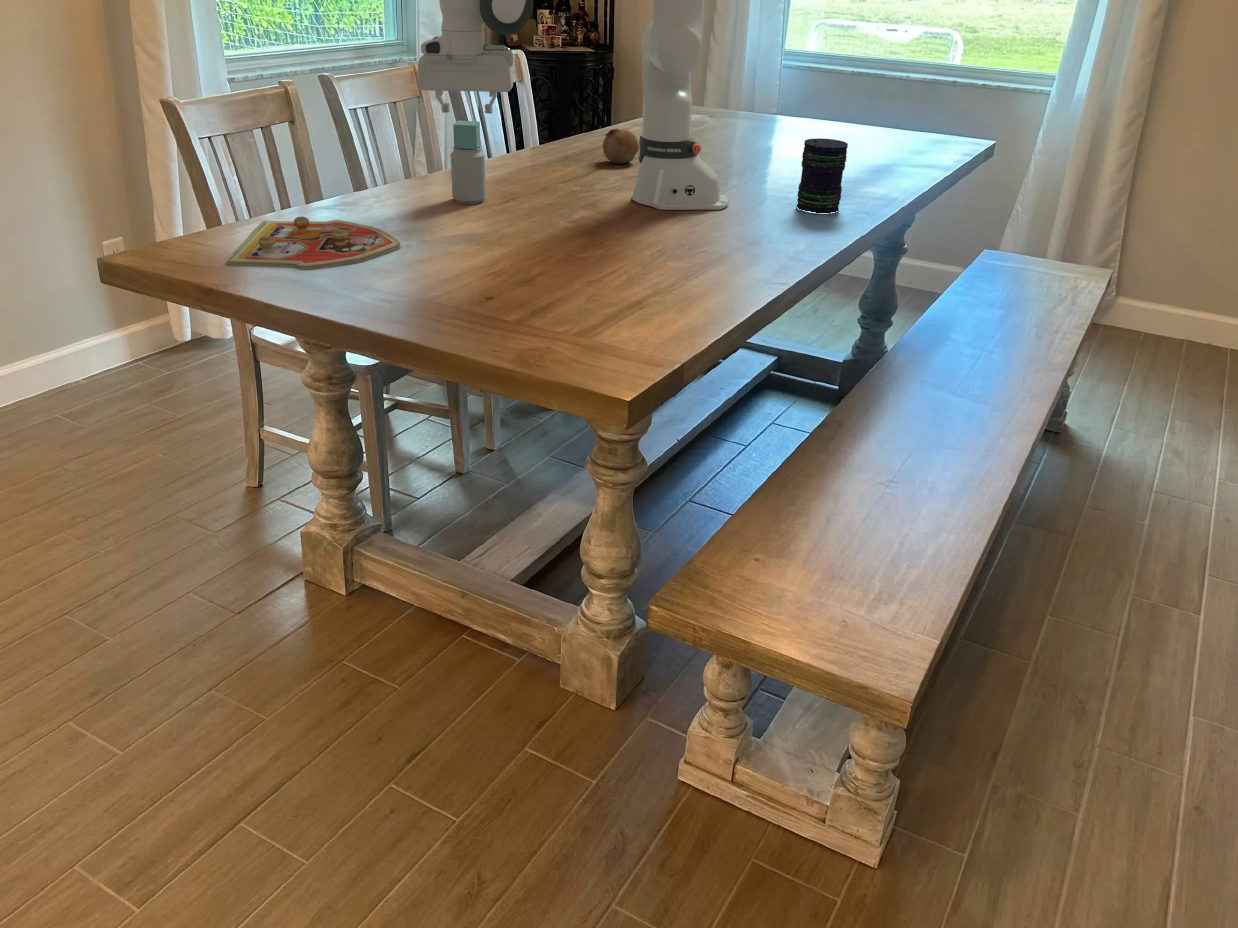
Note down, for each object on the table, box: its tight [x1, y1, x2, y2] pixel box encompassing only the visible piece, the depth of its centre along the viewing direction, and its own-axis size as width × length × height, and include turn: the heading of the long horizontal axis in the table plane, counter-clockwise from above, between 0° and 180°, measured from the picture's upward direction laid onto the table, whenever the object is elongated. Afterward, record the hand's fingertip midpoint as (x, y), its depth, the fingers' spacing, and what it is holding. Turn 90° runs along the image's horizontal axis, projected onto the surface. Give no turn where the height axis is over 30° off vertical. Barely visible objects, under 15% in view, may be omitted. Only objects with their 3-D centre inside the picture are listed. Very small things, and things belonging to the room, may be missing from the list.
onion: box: [602, 128, 639, 165], centre depth 264 cm, size 10×9×10 cm
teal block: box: [452, 120, 481, 149], centre depth 219 cm, size 5×5×5 cm
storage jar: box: [796, 137, 849, 213], centre depth 227 cm, size 10×10×15 cm
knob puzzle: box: [226, 216, 401, 271], centre depth 192 cm, size 29×30×4 cm
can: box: [450, 145, 487, 205], centre depth 223 cm, size 8×8×12 cm
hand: (467, 112), depth 217 cm, fingers open, 8 cm apart
